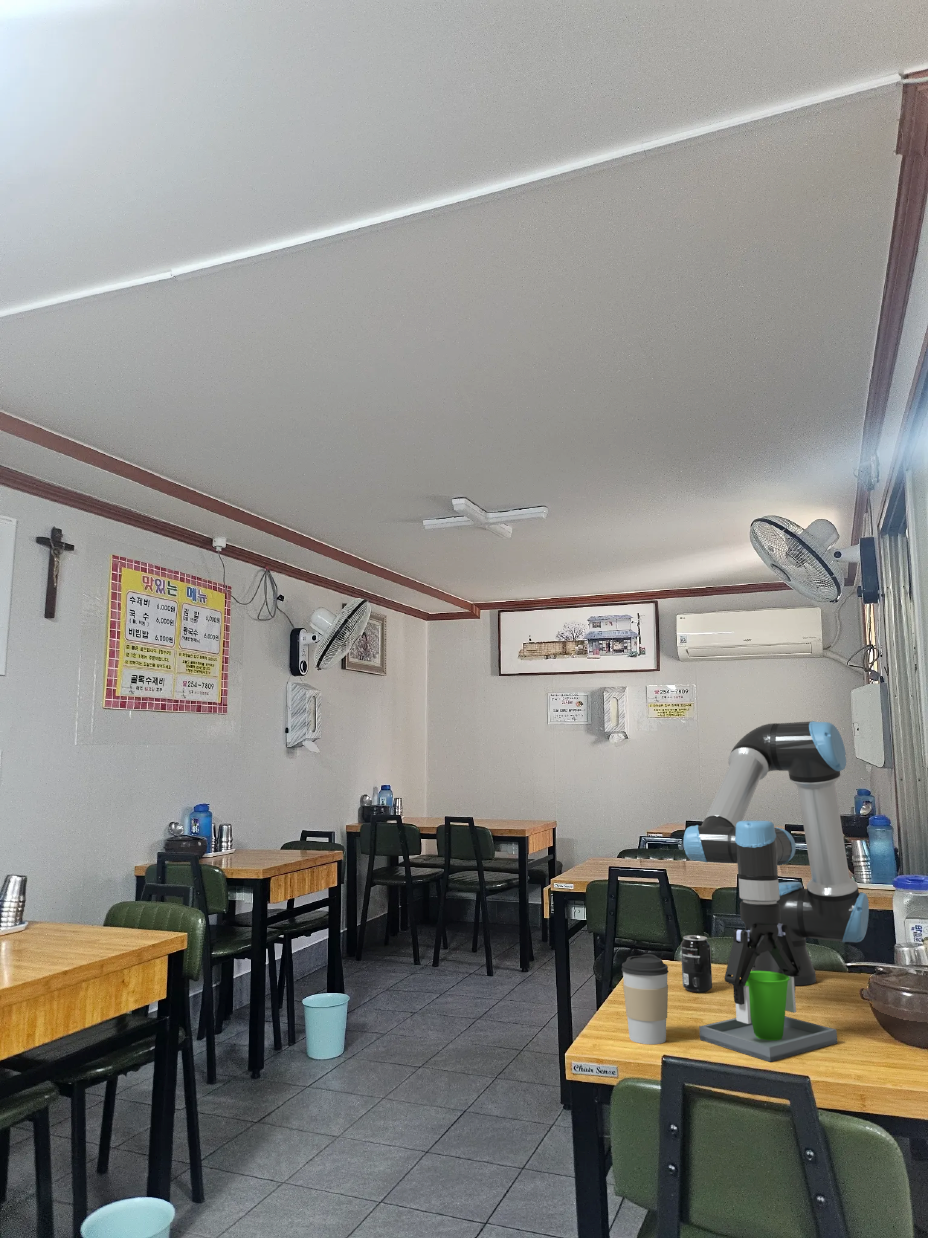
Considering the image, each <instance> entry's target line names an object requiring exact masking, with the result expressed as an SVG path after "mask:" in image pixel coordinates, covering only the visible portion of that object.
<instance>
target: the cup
mask: <svg viewBox="0 0 928 1238" xmlns="http://www.w3.org/2000/svg"><path fill="white" fill-rule="evenodd" d="M789 980H790V978H789V976H787V975H785V974H782V973H777V972H770V971H752V970H751V972H750V975H749V977H748V979H747V982H746V984H745V986H749V999H750V1016H751V1020H752V1025H753V1030H754V1033H755V1036H756V1037H758V1038H760V1039H764V1040H780V1039H782V1036H783V1031H784V1020H785V1016H786V1011H785V1008H786V997H787V986H788V981H789Z"/></svg>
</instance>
